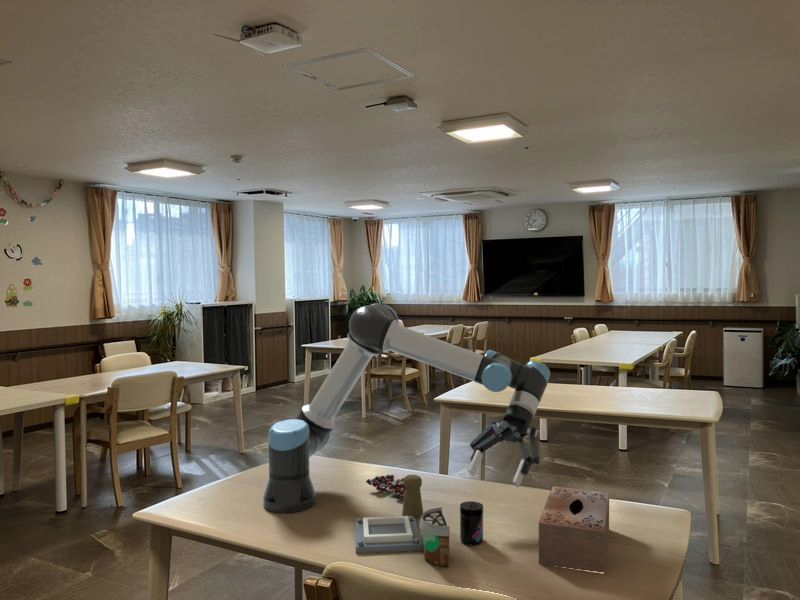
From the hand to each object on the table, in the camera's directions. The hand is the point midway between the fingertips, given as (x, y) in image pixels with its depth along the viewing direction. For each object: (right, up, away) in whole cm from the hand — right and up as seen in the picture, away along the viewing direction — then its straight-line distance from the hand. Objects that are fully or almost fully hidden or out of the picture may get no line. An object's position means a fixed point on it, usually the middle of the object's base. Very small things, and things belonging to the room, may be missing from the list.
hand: (492, 479), depth 159 cm
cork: (-21, -13, +11) cm, 27 cm away
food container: (-16, -14, -15) cm, 27 cm away
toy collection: (-27, -13, +30) cm, 42 cm away
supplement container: (-6, -14, -6) cm, 16 cm away
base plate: (-27, -14, -4) cm, 31 cm away
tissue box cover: (+19, -14, -9) cm, 26 cm away
